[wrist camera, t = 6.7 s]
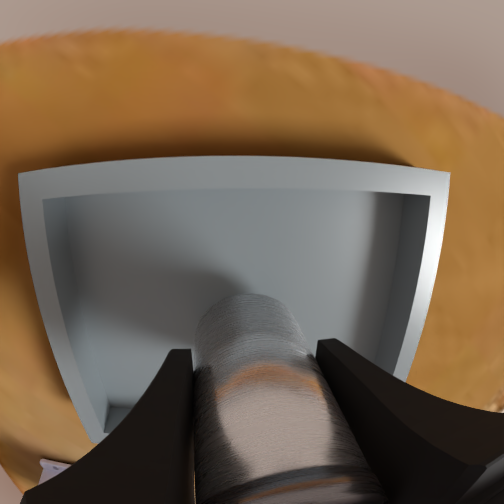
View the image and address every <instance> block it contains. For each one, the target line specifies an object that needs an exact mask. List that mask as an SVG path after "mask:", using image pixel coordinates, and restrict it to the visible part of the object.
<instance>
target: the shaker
mask: <svg viewBox="0 0 504 504" xmlns="http://www.w3.org/2000/svg"><path fill="white" fill-rule="evenodd" d="M193 421H194V471H195V496H196V504H390V503H389V501H388V499H387V497H386V495H385V493H384V491H383V489H382V486H381V484H380V482H379V480H378V478H377V476H376V475H375V473H374V472H373V471H371V470H370V467H369V465H368V463H367V461H366V459H365V457H364V455H363V453H362V451H361V449H360V447H359V445H358V443H357V441H356V439H355V437H354V435H353V433H352V431H351V429H350V427H349V425H348V423H347V421H346V419H345V417H344V415H343V413H342V411H341V409H340V407H339V405H338V403H337V401H336V399H335V397H334V395H333V393H332V391H331V389H330V387H329V385H328V383H327V381H326V379H325V377H324V375H323V373H322V371H321V369H320V367H319V365H318V363H317V361H316V359H315V357H314V355H313V353H312V351H311V349H310V347H309V345H308V343H307V341H306V339H305V337H304V335H303V333H302V331H301V329H300V327H299V325H298V323H297V321H296V319H295V317H294V316H293V314H292V312H291V311H290V310H289V309H288V308H287V307H286V306H285V305H284V304H283V303H281V302H280V301H278V300H277V299H274V298H272V297H270V296H267V295H262V294H254V293H246V294H238V295H234V296H230V297H228V298H225V299H223V300H221V301H219V302H217V303H216V304H214V305H213V306H212V307H210V308H209V309H208V310H207V311H206V312H205V313H204V315H203V316H202V317H201V319H200V320H199V322H198V325H197V327H196V331H195V337H194V400H193Z"/></svg>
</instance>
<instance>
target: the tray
mask: <svg viewBox="0 0 504 504" xmlns="http://www.w3.org/2000/svg"><path fill="white" fill-rule="evenodd" d="M18 182H19V195H20V205H21V214H22V222H23V230H24V236H25V243H26V249H27V254H28V260H29V265H30V270H31V275H32V279H33V284H34V288H35V292H36V296H37V300H38V304H39V308H40V312H41V315H42V319H43V322H44V326H45V329H46V332H47V336H48V339H49V342H50V345H51V348H52V351H53V354H54V357H55V360H56V362H57V365H58V368H59V370H60V373H61V376H62V378H63V381H64V383H65V386H66V388H67V391H68V393H69V396H70V398H71V400H72V403H73V405H74V407H75V409H76V412H77V414H78V416H79V418H80V420H81V422H82V424H83V426H84V428H85V430H86V432H87V434H88V436H89V438H90V440H91V442H92V443H100V442H101V441H102V440H103V439H104V438H105V437H106V436H108V435H109V434H110V433H111V432H112V431H113V430H114V429H115V428H116V426H117V425H118V424H119V423H120V422H121V421H122V420H123V419H124V418H125V417H126V415H127V414H128V413H129V412H130V411H131V409H132V408H133V407H134V405H135V404H136V403H137V402H138V400H139V399H140V398H141V396H142V395H143V394H144V392H145V391H146V389H147V388H148V386H149V385H150V383H151V382H152V380H153V379H154V377H155V376H156V374H157V372H158V371H159V369H160V367H161V366H162V364H163V362H164V360H165V358H166V357H167V355H168V352H169V351H170V350H171V349H191V352H192V361H193V370H194V337H195V331H196V327H197V325H198V322H199V320H200V319H201V317H202V316H203V315H204V313H205V312H206V311H207V310H208V309H209V308H210V307H212V306H213V305H214V304H216V303H217V302H219V301H221V300H223V299H225V298H228V297H230V296H234V295H238V294H246V293H254V294H262V295H267V296H270V297H272V298H274V299H277V300H278V301H280V302H281V303H283V304H284V305H285V306H286V307H287V308H288V309H289V310H290V311H291V312H292V314H293V316H294V317H295V319H296V321H297V323H298V325H299V327H300V329H301V331H302V333H303V335H304V337H305V339H306V341H307V343H308V345H309V347H310V349H311V351H312V353H313V355H314V357H315V355H316V348H317V342H318V340H321V339H330V338H336V339H338V340H339V341H341V342H342V343H344V344H345V345H347V346H348V347H350V348H351V349H353V350H354V351H356V352H357V353H359V354H360V355H362V356H363V357H364V358H366V359H367V360H369V361H370V362H372V363H374V364H375V365H377V366H378V367H380V368H381V369H383V370H385V371H386V372H388V373H390V374H391V375H393V376H395V377H397V378H398V379H400V380H402V381H404V382H406V379H407V376H408V373H409V370H410V368H411V365H412V362H413V359H414V356H415V352H416V349H417V346H418V343H419V339H420V336H421V333H422V329H423V326H424V322H425V318H426V315H427V311H428V307H429V303H430V299H431V295H432V290H433V286H434V282H435V277H436V272H437V267H438V262H439V257H440V251H441V245H442V239H443V233H444V226H445V219H446V211H447V202H448V193H449V182H450V173H449V172H443V171H437V170H431V169H425V168H419V167H411V166H404V165H395V164H387V163H377V162H367V161H356V160H344V159H330V158H314V157H294V156H262V155H206V156H174V157H154V158H138V159H125V160H113V161H102V162H92V163H83V164H75V165H66V166H59V167H51V168H45V169H39V170H34V171H28V172H23V173H18Z"/></svg>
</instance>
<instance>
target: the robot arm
mask: <svg viewBox="0 0 504 504" xmlns="http://www.w3.org/2000/svg"><path fill="white" fill-rule="evenodd" d="M315 359H316V361H317V363H318V365H319V367H320V369H321V371H322V373H323V375H324V377H325V379H326V381H327V383H328V385H329V387H330V389H331V391H332V393H333V395H334V397H335V399H336V401H337V403H338V405H339V407H340V409H341V411H342V413H343V415H344V417H345V419H346V421H347V423H348V425H349V427H350V429H351V431H352V433H353V435H354V437H355V439H356V441H357V443H358V445H359V447H360V449H361V451H362V453H363V455H364V457H365V459H366V461H367V463H368V465H369V467H370V470H371V471H373V472H374V473H375V475H376V476H377V478H378V480H379V482H380V484H381V486H382V489H383V491H384V493H385V495H386V497H387V499H388V501H389V503H390V504H504V413H497V412H490V411H485V410H480V409H475V408H471V407H467V406H463V405H460V404H456V403H453V402H450V401H447V400H444V399H441V398H439V397H436V396H433V395H431V394H429V393H427V392H424V391H422V390H420V389H418V388H415V387H413V386H411V385H409V384H407V383H406V382H404V381H402V380H400V379H398V378H397V377H395V376H393V375H391V374H390V373H388V372H386V371H385V370H383V369H381V368H380V367H378V366H377V365H375V364H374V363H372V362H370V361H369V360H367V359H366V358H364V357H363V356H362V355H360V354H359V353H357V352H356V351H354V350H353V349H351V348H350V347H348V346H347V345H345V344H344V343H342V342H341V341H339V340H338V339H336V338H330V339H321V340H318V342H317V348H316V355H315ZM193 400H194V370H193V361H192V352H191V349H171V350H170V351H169V352H168V355H167V357H166V358H165V360H164V362H163V364H162V366H161V367H160V369H159V371H158V372H157V374H156V376H155V377H154V379H153V380H152V382H151V383H150V385H149V386H148V388H147V389H146V391H145V392H144V394H143V395H142V396H141V398H140V399H139V400H138V402H137V403H136V404H135V405H134V407H133V408H132V409H131V411H130V412H129V413H128V414H127V415H126V417H125V418H124V419H123V420H122V421H121V422H120V423H119V424H118V425H117V426H116V428H115V429H114V430H113V431H112V432H111V433H110V434H109V435H108V436H106V437H105V438H104V439H103V440H102V441H101V442H100V443H99V444H98V445H97V446H96V447H94V448H93V449H92V450H91V451H90V452H89V453H87V454H86V455H85V456H83V457H82V458H81V459H79V460H78V461H76V462H75V463H74V464H72V465H70V464H65V463H60V462H55V461H51V460H46V459H41V460H40V465H41V466H42V467H43V471H42V474H41V477H40V480H39V484H38V485H37V486H36V487H34V488H32V489H29V490H27V491H25V493H24V495H23V498H22V500H21V502H20V504H195V498H194V421H193Z"/></svg>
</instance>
